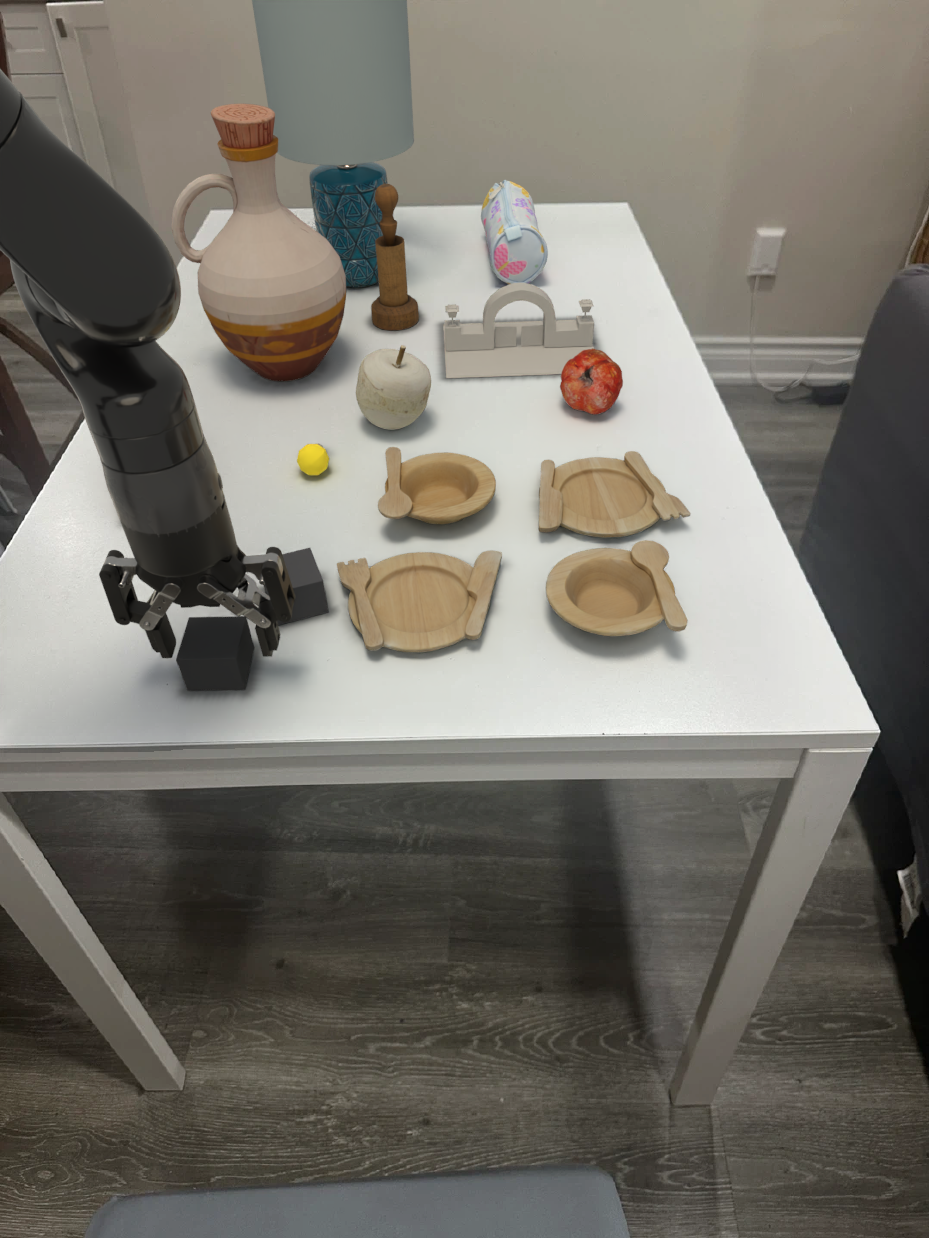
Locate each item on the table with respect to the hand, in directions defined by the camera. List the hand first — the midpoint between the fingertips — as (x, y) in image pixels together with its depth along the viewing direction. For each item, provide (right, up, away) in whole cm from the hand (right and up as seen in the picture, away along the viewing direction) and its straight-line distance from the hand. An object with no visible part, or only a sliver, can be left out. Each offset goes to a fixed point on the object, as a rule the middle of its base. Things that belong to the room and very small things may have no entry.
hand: (220, 650), depth 74 cm
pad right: (+5, +4, +8) cm, 10 cm away
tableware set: (+26, +9, +12) cm, 30 cm away
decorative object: (+13, +26, +30) cm, 41 cm away
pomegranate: (+36, +28, +32) cm, 56 cm away
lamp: (+5, +55, +59) cm, 81 cm away
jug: (-3, +36, +40) cm, 54 cm away
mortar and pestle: (+11, +45, +49) cm, 67 cm away
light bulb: (+4, +20, +24) cm, 31 cm away
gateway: (+28, +39, +43) cm, 64 cm away
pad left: (0, -2, +2) cm, 2 cm away
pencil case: (+28, +59, +62) cm, 90 cm away
